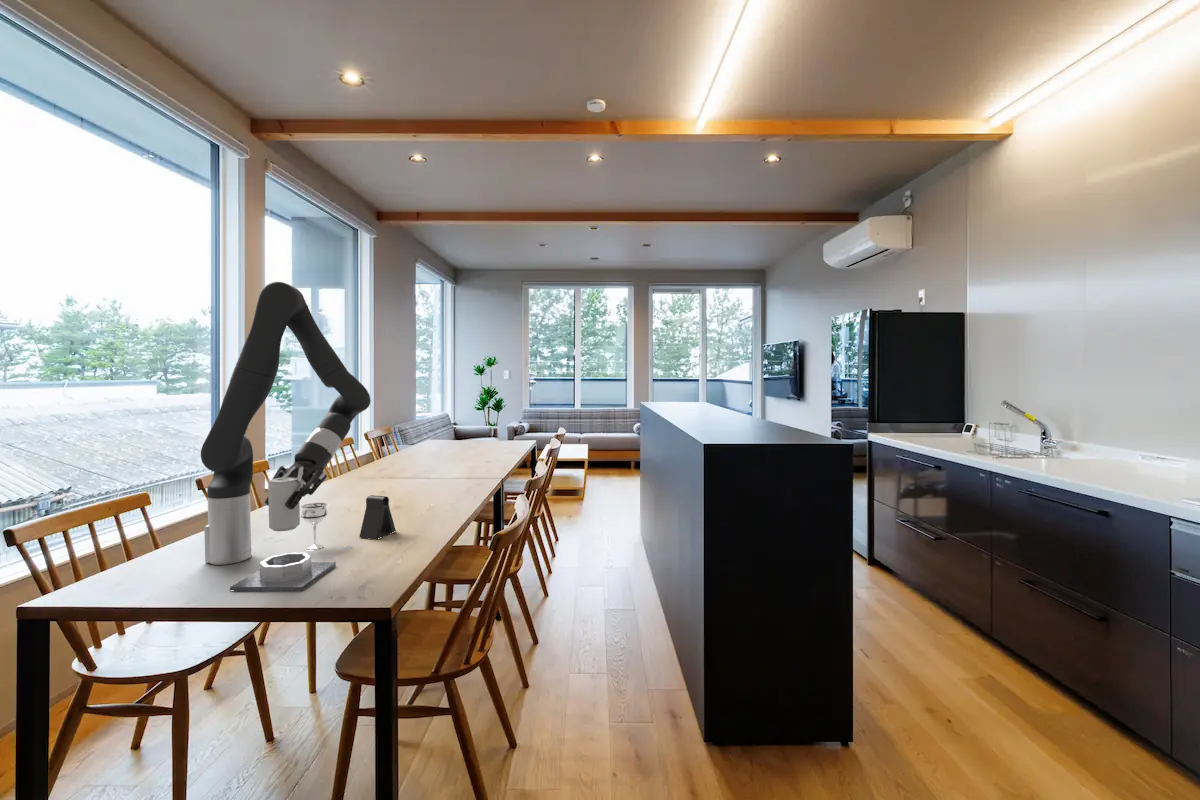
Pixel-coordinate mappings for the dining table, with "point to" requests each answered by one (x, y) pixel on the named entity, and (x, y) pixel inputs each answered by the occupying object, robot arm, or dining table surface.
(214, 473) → the robot arm
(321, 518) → the wineglass
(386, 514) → the phone stand
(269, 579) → the collar stand
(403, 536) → the dining table surface
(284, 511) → the beverage can
